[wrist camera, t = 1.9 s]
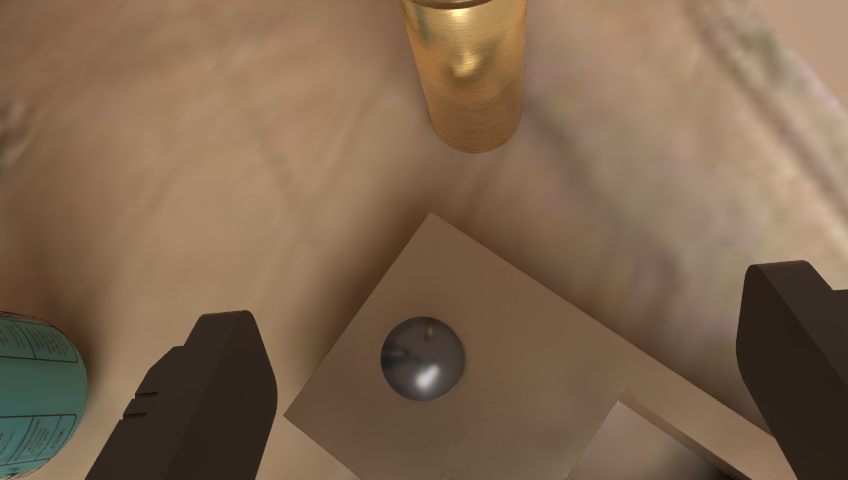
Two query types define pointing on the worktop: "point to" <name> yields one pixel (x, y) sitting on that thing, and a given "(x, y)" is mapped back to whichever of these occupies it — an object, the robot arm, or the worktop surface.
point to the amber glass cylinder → (469, 67)
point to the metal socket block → (496, 379)
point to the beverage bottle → (37, 393)
